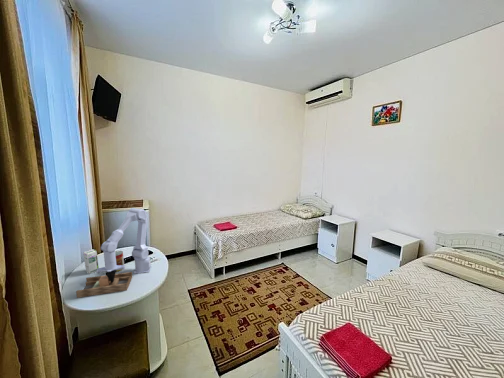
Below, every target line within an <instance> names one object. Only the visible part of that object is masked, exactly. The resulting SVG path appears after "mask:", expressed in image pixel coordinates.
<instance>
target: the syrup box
mask: <svg viewBox="0 0 504 378" xmlns="http://www.w3.org/2000/svg"><path fill="white" fill-rule="evenodd" d="M83 261H84V266H85V267H84V269H85V272H86V273H87V274H89V275H91V274H92V273H93V274H94V273H97V269H98V268H100V267H99V260H98V253H97V250H96V249H90V250H88V251H84V252H83Z"/></svg>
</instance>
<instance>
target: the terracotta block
mask: <svg viewBox="0 0 504 378" xmlns="http://www.w3.org/2000/svg"><path fill="white" fill-rule="evenodd" d="M100 276H101V277H100V279H99V285H100V287H103V286H108V285H109V284H110V280H109V278H108V277H107V276H106V274H105V275H100Z"/></svg>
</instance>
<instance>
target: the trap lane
mask: <svg viewBox="0 0 504 378" xmlns="http://www.w3.org/2000/svg"><path fill="white" fill-rule="evenodd" d="M101 276H102V275H99V276H98V275H97V276H91V277H86V282H85V286H84V288H82V289H78V290H76V291H75V293H76V294H75V295H76V298H77V299H78V298H85V297H91V296H98V295H99V296H100V295H104V294H111V293H118V292H125V291H128V289H129V286H130V284H131V282H132V279H133V272H132V271H127V272H121V273H119V272H118V273H115V277H114V282H110V284H109V285H108V286H103V287H100V285H99V279H100V277H101Z"/></svg>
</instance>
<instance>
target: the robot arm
mask: <svg viewBox="0 0 504 378" xmlns="http://www.w3.org/2000/svg"><path fill="white" fill-rule="evenodd" d="M147 213H148V212H147V211H146V210H145V209H141V208H135V207H131V208H129V210H128V212H126V216H125V218H124V219H123V221H122V222H121V224H120V225H119V227H118V229H115V230H113V231H112V232H111V235H110V236H109V237H108V238H107V239H106V241H104V242H103V243H102V244H101V246H100V250H101V251H103V258H104V260H103V261H104V266H103V267H99V268H98V269H97V271H96V274H99V273H103V272H104V273H105V275H106V276H107V277H108V278H109V280H110V282H114V277H115V274H117V272H116V271H117V270H121V269H122V271H124V270H126V265H125V264H124V265H116V255H115V251H117V248H118V244H119V242H120V241H121V239H122V238H123V236H124V233H125V231H126V229H127V228H128V227H129V226H130V225H131V224H132V223H133V222H137V233H136V242H135V243H136V244H135V245H134V246H133V248H132V251H131V256H132V257H133V259H134V266H135V267H134V268H135V269H134V272H133V274H134V275H135V274H144V273H149V272H150V270H151V268H152V266H151V265H152V264H151V256H150V257H149V253H150V252H149V247H148V246H147V245H146V241H147V240H146V238H147V229H148V216H147Z"/></svg>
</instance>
